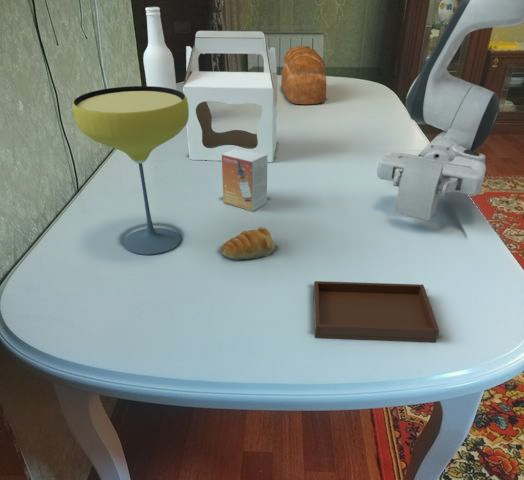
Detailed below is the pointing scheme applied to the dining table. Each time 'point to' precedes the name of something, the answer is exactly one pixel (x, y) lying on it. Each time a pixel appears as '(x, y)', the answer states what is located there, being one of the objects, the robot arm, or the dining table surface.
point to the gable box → (230, 95)
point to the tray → (373, 312)
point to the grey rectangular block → (419, 188)
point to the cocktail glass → (135, 139)
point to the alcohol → (158, 54)
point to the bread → (303, 76)
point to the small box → (244, 178)
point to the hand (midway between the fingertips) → (419, 186)
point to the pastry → (249, 245)
